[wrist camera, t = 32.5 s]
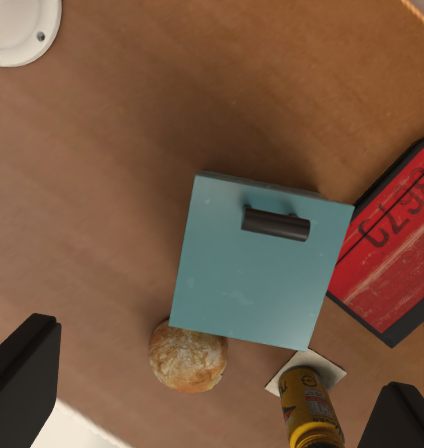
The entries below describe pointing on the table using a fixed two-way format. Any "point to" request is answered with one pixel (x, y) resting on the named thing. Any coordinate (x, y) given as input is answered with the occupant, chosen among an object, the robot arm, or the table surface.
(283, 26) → the table surface
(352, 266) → the binder
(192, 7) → the table surface
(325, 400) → the condiment
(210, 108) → the table surface
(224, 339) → the bread roll
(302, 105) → the table surface
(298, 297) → the bread box lid
